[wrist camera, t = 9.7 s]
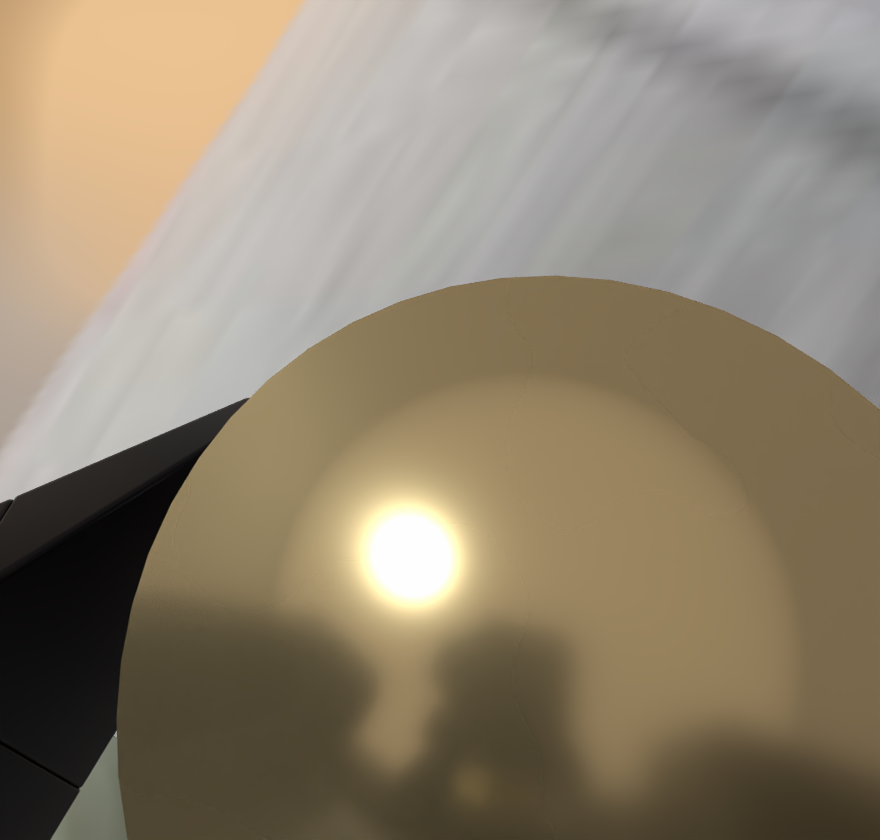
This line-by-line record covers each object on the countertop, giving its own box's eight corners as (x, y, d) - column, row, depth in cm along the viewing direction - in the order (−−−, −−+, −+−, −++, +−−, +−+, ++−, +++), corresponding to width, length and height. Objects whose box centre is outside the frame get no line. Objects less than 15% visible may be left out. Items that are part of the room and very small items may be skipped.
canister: (534, 631, 14) (825, 1548, 2) (387, 551, 15) (-31, 886, 3) (605, 478, 15) (1209, 506, 2) (457, 408, 15) (351, 161, 3)
